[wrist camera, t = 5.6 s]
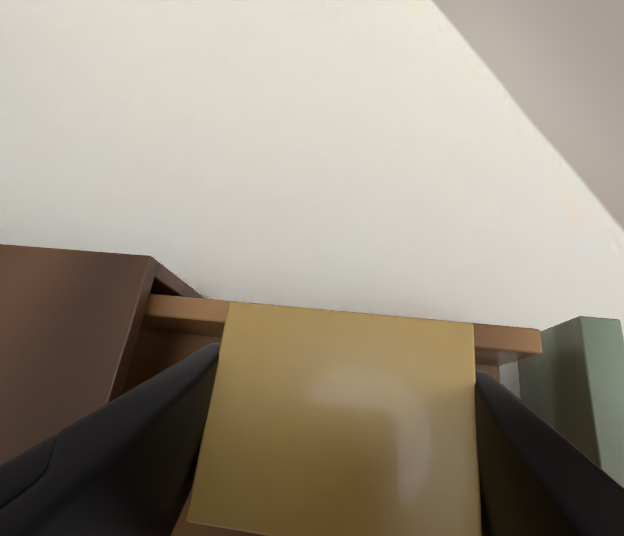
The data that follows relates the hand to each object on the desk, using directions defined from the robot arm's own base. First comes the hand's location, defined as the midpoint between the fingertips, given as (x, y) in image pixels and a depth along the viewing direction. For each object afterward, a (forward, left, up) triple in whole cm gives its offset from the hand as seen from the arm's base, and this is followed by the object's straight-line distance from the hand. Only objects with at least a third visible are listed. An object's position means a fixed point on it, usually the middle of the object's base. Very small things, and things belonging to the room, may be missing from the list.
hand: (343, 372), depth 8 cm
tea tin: (-1, 0, -7) cm, 7 cm away
